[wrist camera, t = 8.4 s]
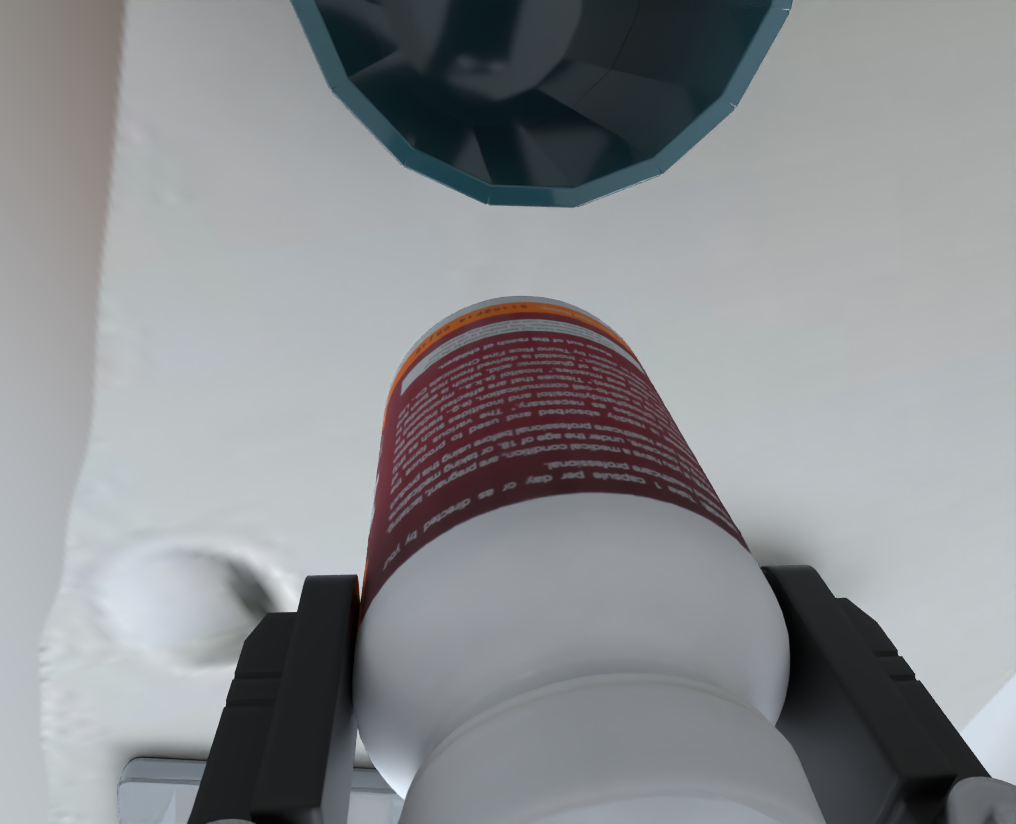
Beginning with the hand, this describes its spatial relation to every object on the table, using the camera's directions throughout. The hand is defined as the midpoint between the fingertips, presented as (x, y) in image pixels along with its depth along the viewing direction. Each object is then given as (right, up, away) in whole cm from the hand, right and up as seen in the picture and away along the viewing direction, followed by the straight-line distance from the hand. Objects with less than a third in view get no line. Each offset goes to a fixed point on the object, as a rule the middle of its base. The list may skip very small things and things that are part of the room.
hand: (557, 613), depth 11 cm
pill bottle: (-1, +3, +6) cm, 7 cm away
